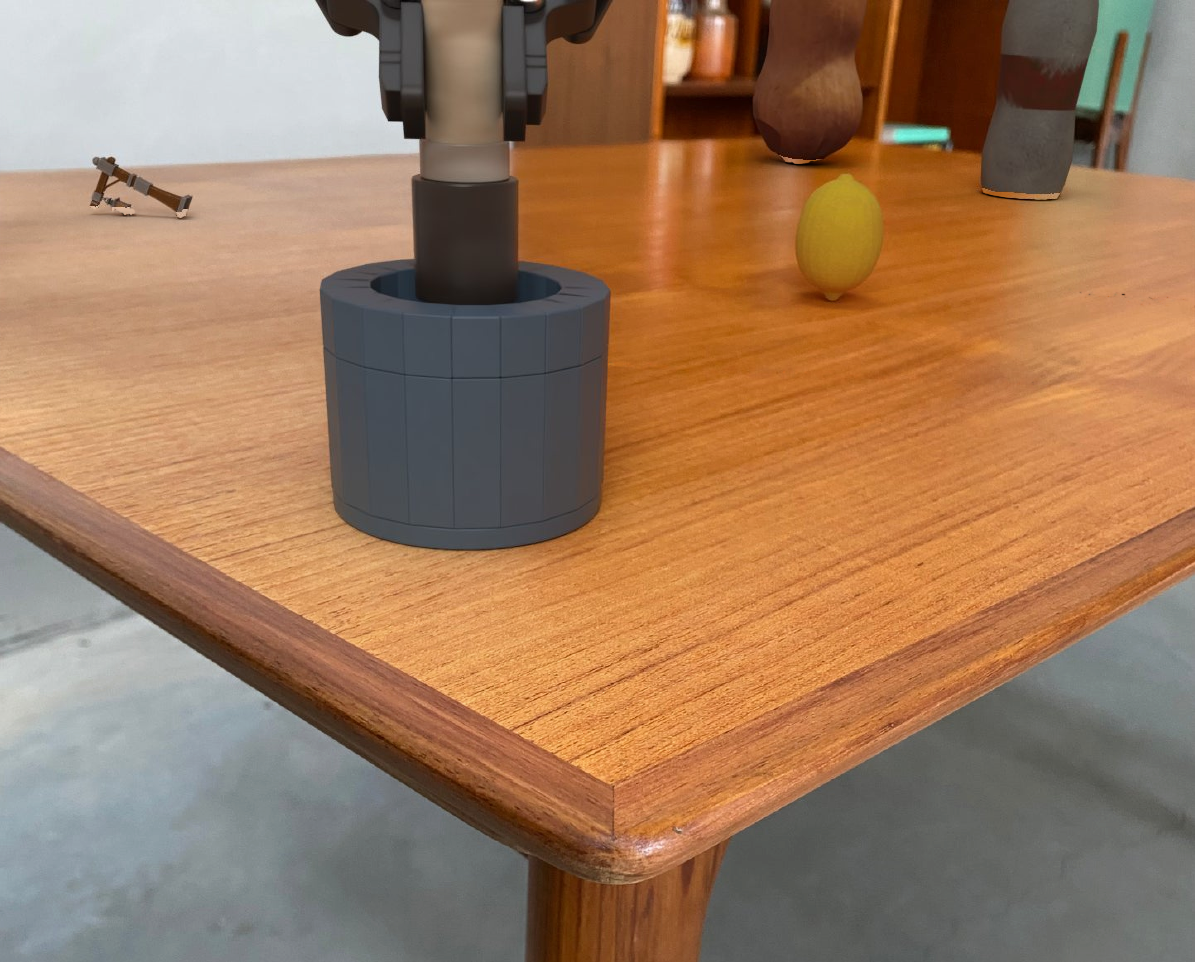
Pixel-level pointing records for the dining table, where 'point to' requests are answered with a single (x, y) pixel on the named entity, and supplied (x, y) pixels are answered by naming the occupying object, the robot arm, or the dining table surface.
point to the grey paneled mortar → (465, 407)
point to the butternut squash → (810, 78)
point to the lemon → (839, 236)
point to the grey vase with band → (1038, 94)
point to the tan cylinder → (464, 162)
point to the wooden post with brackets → (133, 181)
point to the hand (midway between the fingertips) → (465, 121)
